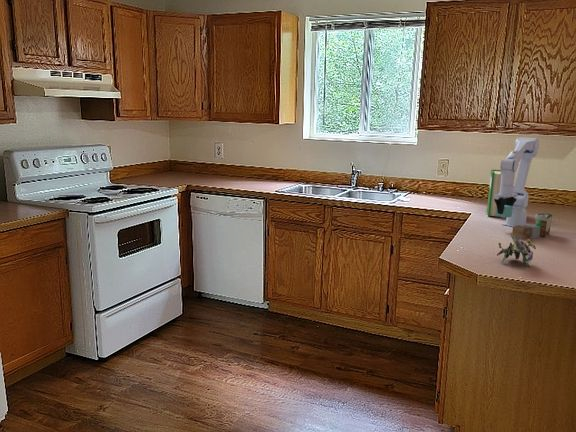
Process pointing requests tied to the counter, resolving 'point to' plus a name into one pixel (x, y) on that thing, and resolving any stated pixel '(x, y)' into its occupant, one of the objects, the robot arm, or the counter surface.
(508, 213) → the teal block
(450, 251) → the counter surface
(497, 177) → the hardback book
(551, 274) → the counter surface
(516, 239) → the passion flower
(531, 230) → the slate-grey block
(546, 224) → the food container
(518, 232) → the brass block
